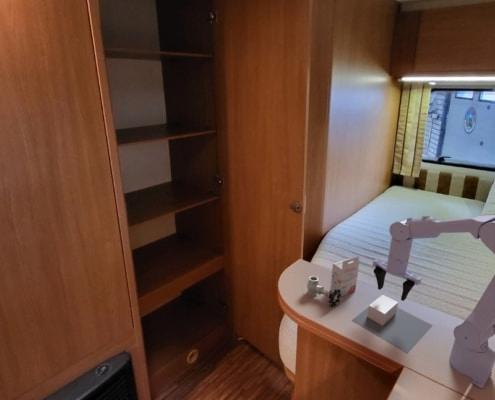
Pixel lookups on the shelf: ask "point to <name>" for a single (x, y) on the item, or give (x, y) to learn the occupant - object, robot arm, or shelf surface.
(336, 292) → the valve
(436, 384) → the shelf surface
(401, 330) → the board
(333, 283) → the ink cartridge box
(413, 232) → the robot arm
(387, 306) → the block
